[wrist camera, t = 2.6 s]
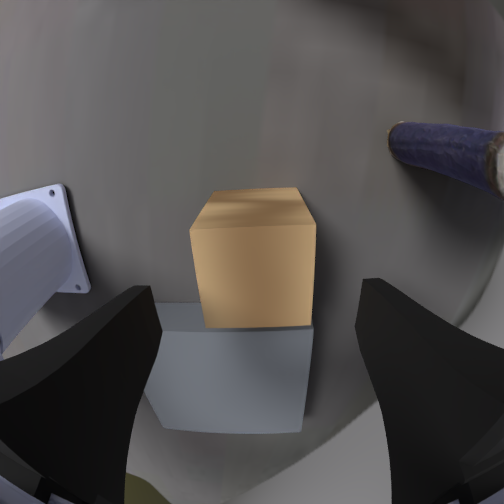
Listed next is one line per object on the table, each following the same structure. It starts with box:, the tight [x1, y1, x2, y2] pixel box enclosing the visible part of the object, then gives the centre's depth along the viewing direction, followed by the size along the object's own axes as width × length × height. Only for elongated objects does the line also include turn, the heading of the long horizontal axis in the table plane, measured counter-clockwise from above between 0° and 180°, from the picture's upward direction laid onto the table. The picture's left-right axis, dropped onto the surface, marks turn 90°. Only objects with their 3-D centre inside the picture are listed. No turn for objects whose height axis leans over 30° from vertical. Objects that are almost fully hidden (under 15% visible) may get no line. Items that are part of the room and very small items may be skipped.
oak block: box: [190, 188, 316, 328], centre depth 14 cm, size 4×4×6 cm
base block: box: [144, 302, 314, 434], centre depth 20 cm, size 12×12×3 cm
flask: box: [387, 121, 504, 200], centre depth 9 cm, size 9×3×11 cm, turn 94°
